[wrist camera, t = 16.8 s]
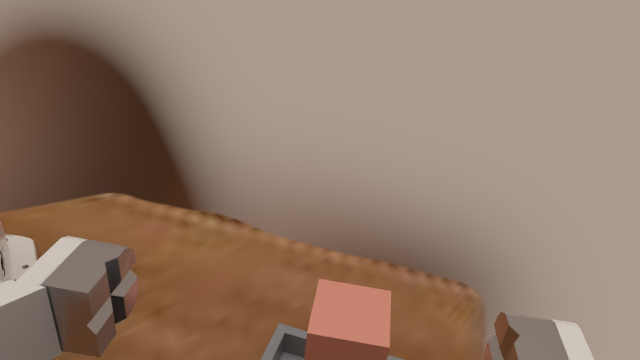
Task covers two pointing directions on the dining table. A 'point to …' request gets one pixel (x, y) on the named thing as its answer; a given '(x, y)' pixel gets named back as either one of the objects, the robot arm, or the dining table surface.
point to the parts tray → (290, 344)
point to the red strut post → (349, 323)
